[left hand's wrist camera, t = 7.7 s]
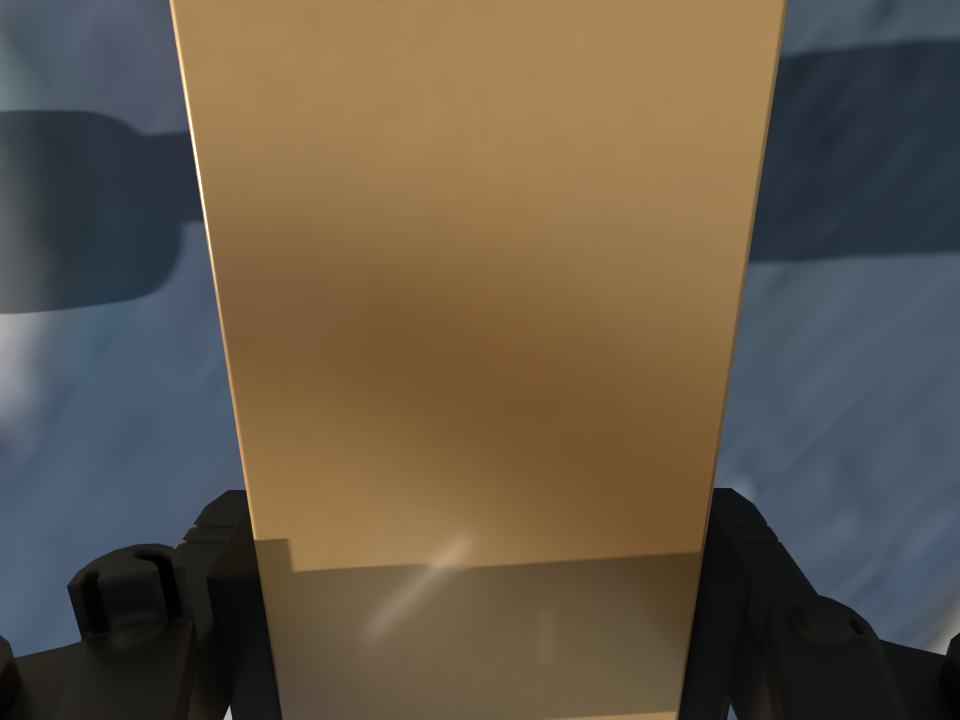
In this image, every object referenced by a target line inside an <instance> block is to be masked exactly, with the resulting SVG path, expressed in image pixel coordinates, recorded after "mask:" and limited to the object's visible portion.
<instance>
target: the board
mask: <svg viewBox="0 0 960 720" xmlns="http://www.w3.org/2000/svg"><path fill="white" fill-rule="evenodd" d="M787 5H788V0H170V6H171V13H172V19H173V26H174V32H175V38H176V45H177V51H178V57H179V64H180V70H181V77H182V83H183V89H184V96H185V102H186V108H187V115H188V121H189V128H190V134H191V140H192V147H193V153H194V160H195V166H196V172H197V179H198V185H199V191H200V198H201V204H202V211H203V217H204V223H205V230H206V236H207V242H208V249H209V255H210V262H211V268H212V274H213V281H214V287H215V294H216V300H217V306H218V313H219V319H220V325H221V332H222V338H223V345H224V351H225V357H226V364H227V370H228V376H229V383H230V389H231V396H232V402H233V408H234V415H235V421H236V428H237V434H238V440H239V447H240V453H241V459H242V466H243V472H244V479H245V485H246V491H247V498H248V504H249V510H250V517H251V523H252V530H253V536H254V542H255V549H256V555H257V561H258V568H259V574H260V581H261V587H262V593H263V600H264V606H265V613H266V619H267V625H268V632H269V638H270V644H271V651H272V657H273V664H274V670H275V676H276V683H277V689H278V695H279V702H280V708H281V715H282V720H678V717H679V710H680V704H681V697H682V691H683V684H684V678H685V671H686V665H687V658H688V652H689V645H690V639H691V632H692V625H693V619H694V612H695V606H696V599H697V593H698V586H699V580H700V573H701V567H702V560H703V554H704V547H705V541H706V534H707V528H708V521H709V514H710V508H711V501H712V495H713V488H714V482H715V475H716V469H717V462H718V456H719V449H720V443H721V436H722V430H723V423H724V416H725V410H726V403H727V397H728V390H729V384H730V377H731V371H732V364H733V358H734V351H735V345H736V338H737V332H738V325H739V319H740V312H741V305H742V299H743V292H744V286H745V279H746V273H747V266H748V260H749V253H750V247H751V240H752V234H753V227H754V221H755V214H756V207H757V201H758V194H759V188H760V181H761V175H762V168H763V162H764V155H765V149H766V142H767V136H768V129H769V123H770V116H771V110H772V103H773V96H774V90H775V83H776V77H777V70H778V64H779V57H780V51H781V44H782V38H783V31H784V25H785V18H786V12H787Z"/></svg>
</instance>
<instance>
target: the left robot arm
mask: <svg viewBox="0 0 960 720" xmlns="http://www.w3.org/2000/svg"><path fill="white" fill-rule="evenodd" d="M67 588H68V592H69V595H70V599H71V602H72V606H73V609H74V613H75V616H76V620H77V623H78V627H79V630H80V634H81V637H82V639H81V642H78V643H75V644H71V645H68V646H65V647H60V648H56V649H52V650H48V651H43V652H39V653H35V654H30V655H26V656H22V657H17V658H14V655H13V652H12V649H11V646H10V643H9V642H8V641H7V640H6V639H4V638H3V637H2V636H1V635H0V720H223V719H224V717H225V715H226V712H227V710H228V708H229V705H230V709H231V714H232V720H282V715H281V708H280V702H279V695H278V689H277V683H276V676H275V670H274V664H273V657H272V651H271V644H270V638H269V632H268V625H267V619H266V613H265V606H264V600H263V593H262V587H261V581H260V574H259V568H258V561H257V555H256V549H255V542H254V536H253V530H252V523H251V517H250V510H249V504H248V498H247V491H246V490H228V491H227V492H225V493H224V494H222V495H221V496H220V497H218V498H217V499H215V500H214V501H212V502H211V503H210V504H208V505H207V506H206V507H205V508H204V510H203V511H202V512H201V514H200V515H199V517H198V518H197V520H196V521H195V522H194V524H193V528H192V529H189V531H188V532H187V534H186V535H185V537H184V538H183V539H182V544H179V545H178V546H177V548H176V549H174V548H173V547H170V546H165V545H161V544H137V545H133V546H129V547H125V548H122V549H118V550H115V551H112V552H110V553H108V554H106V555H104V556H101V557H99V558H97V559H95V560H93V561H92V562H91V563H89V564H88V565H87V566H85V567H84V568H83V569H81V570H80V571H78V572H77V573H76V575H75V576H74V577H73V579H72V580H71V581H70V583H69V584H68V585H67ZM730 703H731V706H732V708H733V710H734V713H735V715H736V717H737V720H960V633H959V634H957V635H956V636H955V637H954V638H952V639H951V641H950V644H949V647H948V650H947V653H946V655H941V654H937V653H933V652H928V651H924V650H920V649H915V648H911V647H906V646H902V645H898V644H894V643H891V642H887V641H884V640H881V639H879V638H878V636H877V635H876V633H875V632H874V630H873V629H872V627H871V626H870V624H869V623H868V622H867V621H866V620H865V619H863V618H862V617H861V616H860V615H859V614H857V613H856V612H855V611H854V610H853V609H851V608H849V607H847V606H845V605H843V604H841V603H839V602H837V601H835V600H833V599H831V598H827V597H824V596H820V595H818V594H817V592H816V591H815V590H814V588H813V587H812V585H811V584H810V583H809V581H808V580H807V578H806V577H805V576H804V574H803V573H802V571H801V570H800V569H799V567H798V566H797V564H796V563H795V562H794V560H793V559H792V557H791V556H790V554H789V553H788V552H787V550H786V549H785V547H784V546H783V545H782V543H781V542H778V538H777V536H776V535H775V533H774V532H773V531H772V529H771V528H770V526H767V522H766V521H765V519H764V518H763V516H762V515H761V514H760V512H759V511H758V509H757V508H756V507H755V505H754V504H753V503H751V502H750V501H749V500H747V499H746V498H744V497H743V496H742V495H740V494H739V493H737V492H736V491H734V490H733V489H732V488H713V495H712V501H711V508H710V514H709V521H708V528H707V534H706V541H705V547H704V554H703V560H702V567H701V573H700V580H699V586H698V593H697V599H696V606H695V612H694V619H693V625H692V632H691V639H690V645H689V652H688V658H687V665H686V671H685V678H684V684H683V691H682V697H681V704H680V710H679V717H678V720H727V717H728V711H729V706H730Z"/></svg>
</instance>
